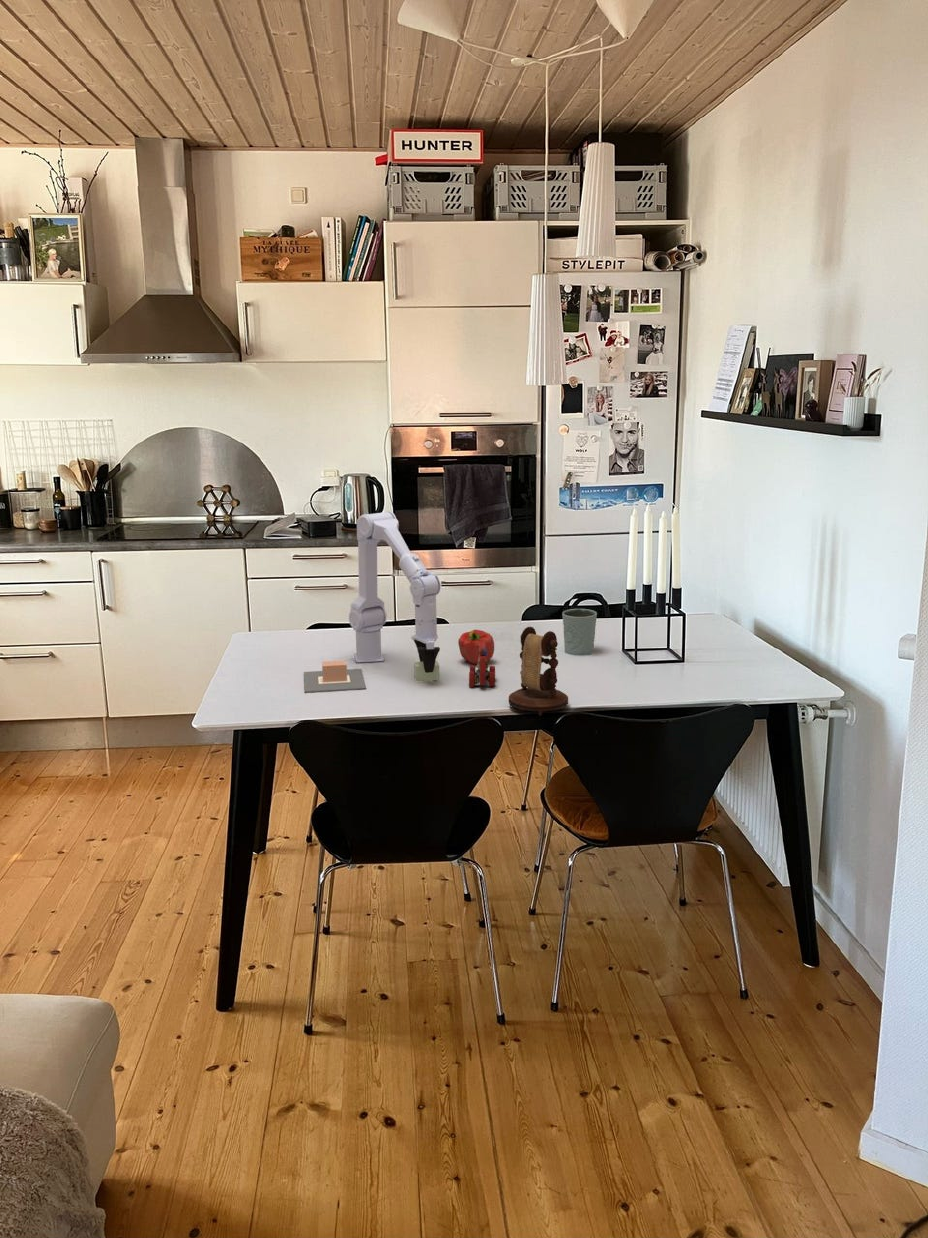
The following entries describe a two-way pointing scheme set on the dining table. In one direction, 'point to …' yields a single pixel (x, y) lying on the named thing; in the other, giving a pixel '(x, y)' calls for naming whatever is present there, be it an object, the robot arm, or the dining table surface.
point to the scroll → (538, 674)
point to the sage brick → (422, 675)
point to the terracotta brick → (334, 671)
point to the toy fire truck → (482, 670)
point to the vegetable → (475, 645)
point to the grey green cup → (579, 631)
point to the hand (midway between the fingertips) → (426, 668)
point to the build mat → (316, 684)
